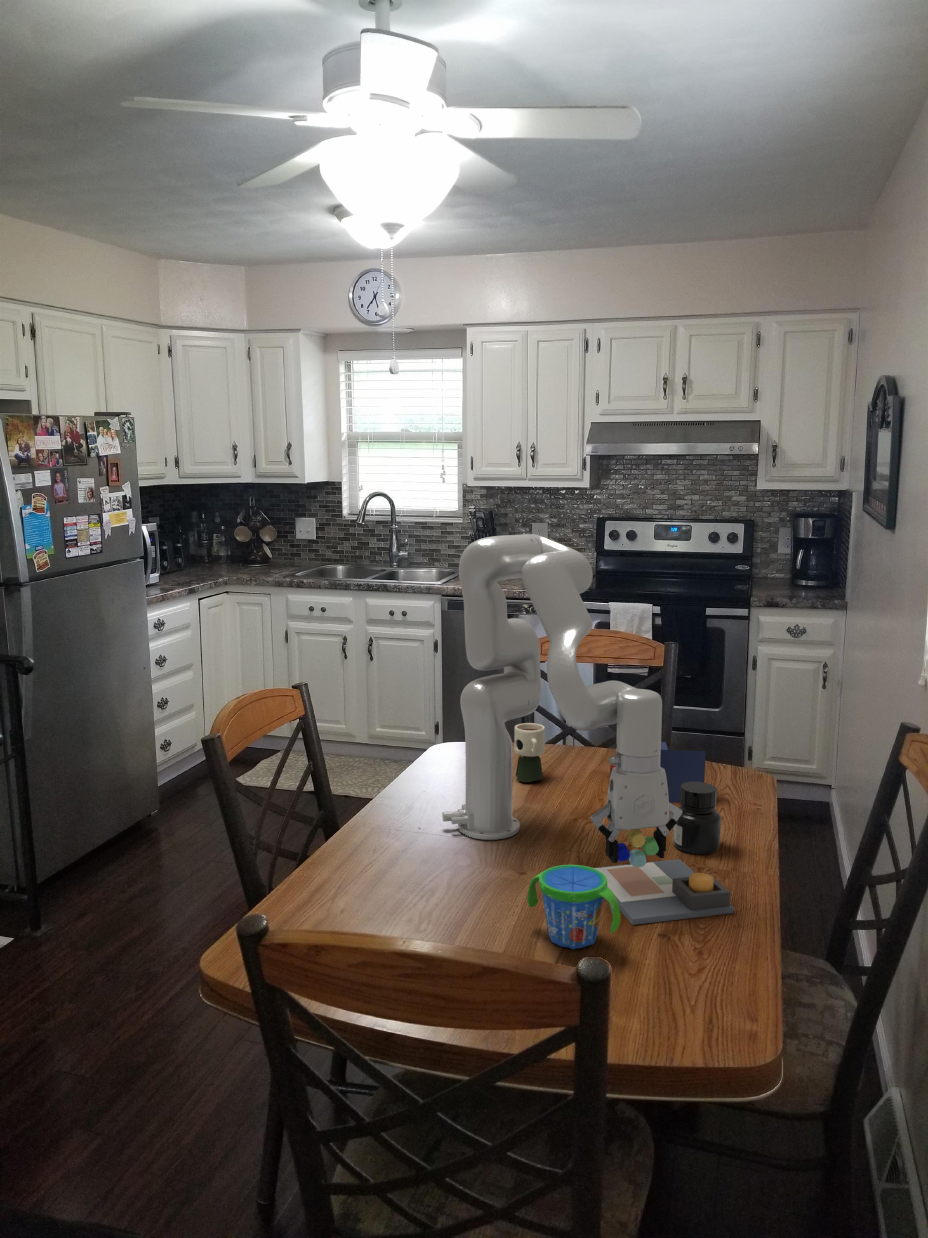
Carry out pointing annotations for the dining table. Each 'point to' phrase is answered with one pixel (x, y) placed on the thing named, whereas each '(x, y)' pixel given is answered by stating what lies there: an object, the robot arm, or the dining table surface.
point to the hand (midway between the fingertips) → (635, 857)
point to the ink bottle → (698, 819)
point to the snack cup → (573, 903)
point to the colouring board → (663, 892)
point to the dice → (637, 840)
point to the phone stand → (681, 769)
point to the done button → (700, 882)
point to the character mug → (529, 751)
